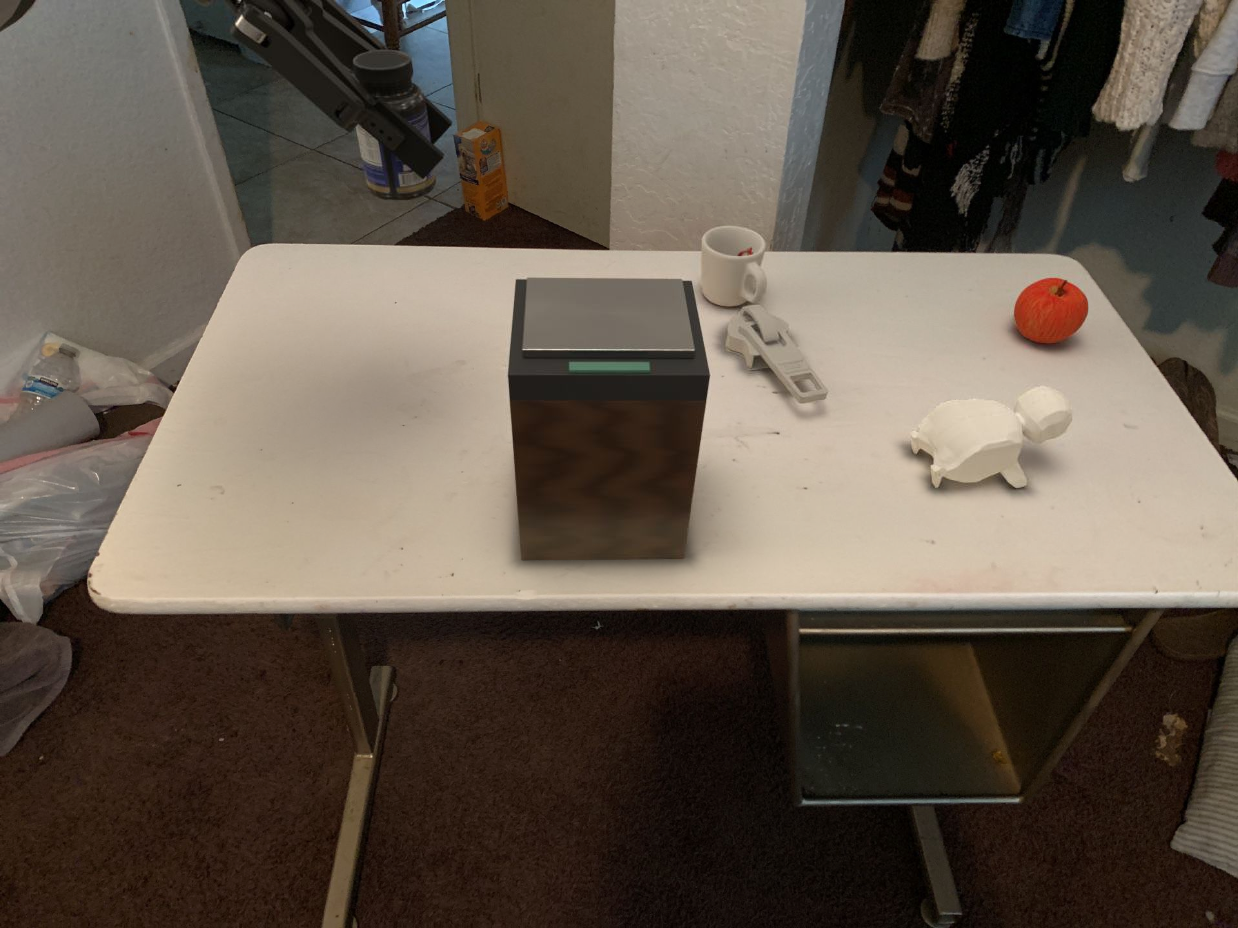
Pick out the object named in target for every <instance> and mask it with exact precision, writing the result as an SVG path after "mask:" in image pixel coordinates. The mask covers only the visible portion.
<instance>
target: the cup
mask: <svg viewBox="0 0 1238 928" xmlns="http://www.w3.org/2000/svg"><path fill="white" fill-rule="evenodd" d="M700 246H701V257H700V263H701V264H700V265H701V266H700V268H701V269H700V273H701V274H700V276H701V277H700V283H701V284H700V285H701V291H702V294H703V296H704V298H706V299H707V300H708V301H709V302H710V303H712V304H715V305H718V306H721V307H736V306H740V305H743V304H745V303H746V302H749V303H751V304H753V303H754V304H755V303H758V302H761V301H762V300H763V298H764V297H765V294H766V293H767V288H768V279H767V276H766V273H765V271H764V270H763V268H761V266H762V263H763V260H764V256H765V253H766V250H767V244H766V241H765V239H764V238H763V237H762V236H761V234H759V233H758V232H756V231H754V230H752V229H751V228H748V227H747V228H746V227H743V226H737V225H722V226H717V227H713V228H711V229H708V230H707V231H706V232H705V233H704V234H703V236H702V238H701V245H700ZM754 290H755V292H754Z"/></svg>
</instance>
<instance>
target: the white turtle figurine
mask: <svg viewBox="0 0 1238 928" xmlns="http://www.w3.org/2000/svg"><path fill="white" fill-rule="evenodd" d="M1069 401H1070V400H1068V398H1067V397H1066V396H1065V395H1063V393H1062V392H1061V391H1058V390H1057V389H1054V388H1052V387H1049V386H1048V385H1039V386H1035V387H1032V388H1031V389H1029V390H1027V391H1026V392H1024V393H1023V394H1021V395H1020V396H1019V397H1017V398H1016V400H1015V402H1014V406H1013V410H1012V409H1011V408H1010V407H1008V406H1007V405H1005V404H1003V403H1001V402H999V401H998V400H994V399H982V398H977V397H972V398H970V399H969V398H967V399H966V398H965V399H950V400H945V401H943V402H941V403H940V404H938V405H937V406H935V407H934V408H933V409H932V410H931V411H930V412H929V413H928V415H927V416H926V417H925V418H923V420H922V421H921V422H920V423H919V425H918V427H917V430H910V432H909V435H910V438H911V440H910V445H911V451H912V452H913V454H914V455H917V454H918V452H919V450H923V451H924V452H925V453H927V454H928V455H930V456H931V457H932V459H933V464H931V465H930V475H931V483H932V484H933V486H934V488H935V489H937V488H939V486H940V484H941V482H942V478H945V479H947V480H951V481H955V482H958V483H959V482H960V483H969V484H970V483H977V482H980V481H982V480H985V479H987V478H988V477H991V476H993V475H994V476H995V475H996V474H998V473H1000V474H1001V475H1002V477H1003V478H1004V479H1005V480H1006V482H1007V483H1008V484H1010V485H1011V486H1012V487H1014V488H1016V489H1020V488H1023V487H1025V486H1027V485H1028V479H1027V477H1026V474H1025V472H1024V471H1023V469H1022V467H1021V465H1020V463H1019V461H1018V458H1019V456H1020V453H1021V451H1022V448H1023V444H1024V437H1025V438H1026V439H1027V440H1028V441H1030V442H1032V443H1034V444H1036V445H1038V444H1039V445H1040V444H1041V443H1043V442H1045V441H1049V440H1053V439H1056V438H1058V437H1060V436H1062V435H1064V434H1065V433H1066V432H1067V430H1068V428H1069V427H1070V425H1071V423H1072V421H1073V408H1072V405H1071V403H1070V402H1069Z"/></svg>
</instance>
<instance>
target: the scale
mask: <svg viewBox="0 0 1238 928" xmlns="http://www.w3.org/2000/svg"><path fill="white" fill-rule="evenodd" d="M507 366H508V368H507V382H508V383H507V384H508V396H509V397H508V398H509V402H510V401H706V402H707V401H708V395H709V394H708V393H709V386H710V378H711V372H710V367H709V362H708V357H707V351H706V347H705V342H704V337H703V331H702V326H701V320H700V316H699V311H698V305H697V300H696V295H695V289H694V285H693V280H683V279H682V278H637V277H635V278H630V277H629V278H628V277H627V278H625V277H624V278H623V277H622V278H621V277H620V278H619V277H617V278H616V277H615V278H614V277H526V278H522V279H521V278H516V279H515V285H514V296H513V307H512V320H511V333H510V343H509V356H508V365H507Z"/></svg>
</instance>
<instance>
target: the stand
mask: <svg viewBox="0 0 1238 928" xmlns="http://www.w3.org/2000/svg"><path fill="white" fill-rule="evenodd" d="M706 407H707V400H706V401H510V400H509V411H510V425H511V441H512V453H513V465H514V478H515V479H514V480H515V493H516V506H517V507H516V508H517V522H518V534H519V535H518V536H519V537H518V538H519V548H520V560H521V561H543V560H544V561H545V560H547V561H550V560H551V561H552V560H553V561H557V560H633V559H634V560H639V559H640V560H642V559H643V560H649V559H656V560H657V559H685V554H686V547H687V540H688V533H689V527H690V519H691V512H692V505H693V499H694V498H693V497H694V491H695V484H696V477H697V471H698V462H699V456H700V450H701V442H702V435H703V429H704V420H705V414H706V409H707V408H706Z"/></svg>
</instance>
